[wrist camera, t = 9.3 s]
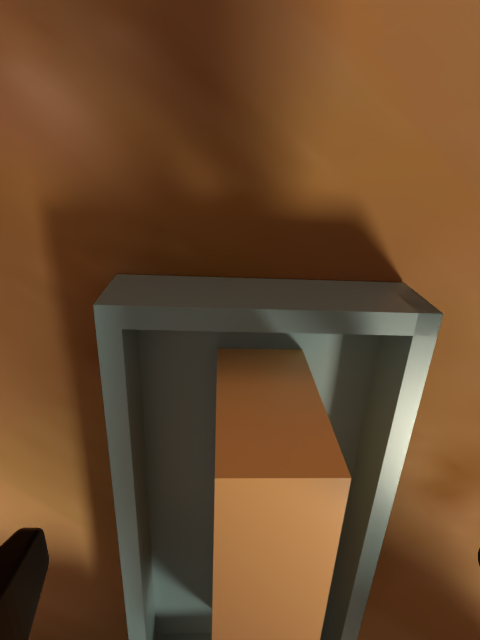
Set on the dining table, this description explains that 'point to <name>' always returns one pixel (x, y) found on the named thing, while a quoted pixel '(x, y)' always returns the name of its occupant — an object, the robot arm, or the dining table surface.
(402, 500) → the dining table surface
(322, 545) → the orange-brown rectangular block
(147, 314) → the tray
